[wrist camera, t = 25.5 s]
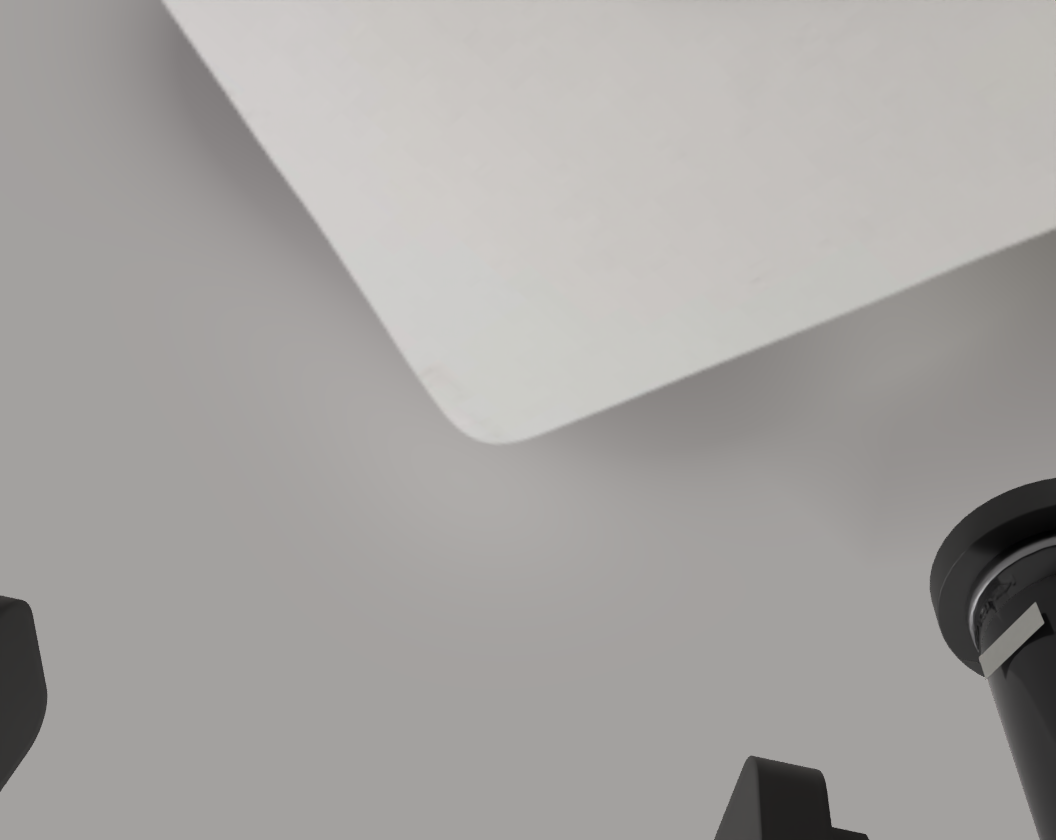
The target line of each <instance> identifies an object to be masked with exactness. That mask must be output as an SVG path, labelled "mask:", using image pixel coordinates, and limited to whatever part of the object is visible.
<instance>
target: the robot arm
mask: <svg viewBox="0 0 1056 840" xmlns="http://www.w3.org/2000/svg"><path fill="white" fill-rule="evenodd" d="M966 620H967V624H968V628H969V631H970V634H971V637H972V640H973V642H974V645H975V647H976V649H977V650H978V652H979V654H980V657H979V660H980V663H981V666H982V669H983V672H984V676H985V678H986V679H987V678H988V682H989V685H990V688H991V691H992V695H993V697H994V701H995V703H996V707H997V710H998V713H999V716H1000V719H1001V722H1002V725H1003V728H1004V731H1005V734H1006V737H1007V740H1008V743H1009V747H1010V749H1011V753H1012V756H1013V759H1014V762H1015V765H1016V768H1017V771H1018V774H1019V777H1020V780H1021V783H1022V786H1023V789H1024V792H1025V795H1026V799H1027V802H1028V804H1029V808H1030V811H1031V814H1032V817H1033V820H1034V823H1035V826H1036V829H1037V832H1038V835H1039V838H1040V840H1056V529H1052V530H1048V531H1045V532H1041V533H1039V534H1036V535H1033V536H1030V537H1028V538H1026V539H1024V540H1021V541H1019V542H1018V543H1016V544H1014V545H1012V546H1010V547H1009V548H1007V549H1006V550H1004V551H1003V552H1001V553H1000V554H999V555H997V556H996V557H995V558H994V559H993V560H991V561H990V562H989V563H988V564H987V565H986V566H985V567H984V569H983V570H982V571H981V572H980V574H979V575H978V576H977V578H976V579H975V581H974V583H973V584H972V587H971V589H970V591H969V594H968V598H967V603H966ZM46 705H47V689H46V683H45V677H44V672H43V667H42V661H41V656H40V651H39V646H38V640H37V635H36V630H35V625H34V619H33V615H32V610H31V608H30V606H29V604H27V602H25V601H23V600H19V599H14V598H10V597H5V596H0V791H1V790H2V788H3V787H4V785H5V784H6V783H7V781H8V780H9V778H10V777H11V775H12V774H13V773H14V771H15V770H16V768H17V767H18V765H19V764H20V762H21V761H22V760H23V758H24V757H25V755H26V754H27V752H28V751H29V750H30V748H31V746H32V745H33V743H34V741H35V739H36V737H37V735H38V733H39V731H40V728H41V725H42V722H43V719H44V716H45V711H46ZM714 840H869V839H868V837H867V835H866V834H862V833H857V832H852V831H848V830H843V829H838V828H834V827H832V826H831V818H830V811H829V804H828V795H827V789H826V783H825V779H824V776H823V774H822V773H821V771H819V770H817V769H812V768H807V767H803V766H798V765H793V764H788V763H784V762H779V761H774V760H769V759H765V758H760V757H755V756H750V757H748V759H747V760H746V762H745V764H744V766H743V768H742V771H741V774H740V776H739V779H738V781H737V784H736V786H735V789H734V791H733V794H732V796H731V799H730V801H729V804H728V806H727V809H726V811H725V814H724V816H723V819H722V821H721V824H720V826H719V829H718V831H717V834H716V837H715V839H714Z"/></svg>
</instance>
